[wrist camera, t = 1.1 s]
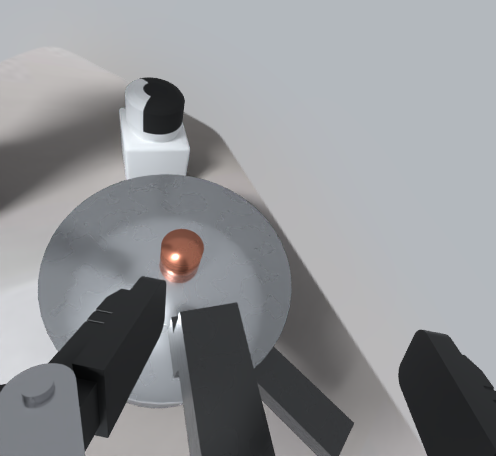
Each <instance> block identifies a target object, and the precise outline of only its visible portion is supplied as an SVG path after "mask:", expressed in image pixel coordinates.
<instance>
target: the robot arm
mask: <svg viewBox="0 0 496 456" xmlns="http://www.w3.org/2000/svg"><path fill="white" fill-rule="evenodd" d="M165 305H166V281H165V280H161V279H156V278H151V277H145V276H141V277H140V278H139V279H138V281H137V282H136V283H135V284H134V286H133V287H132V288H131V289H130V290H127V289H122V288H121V289H120V290H118V291H116V292H114V293H113V294H111V295H109V296H107V297H106V298H105V299H104V300H103V302H102V303H101V304H100V305H99V306H98V307H97V308H96V311H94V312H93V313H92V314H91V315H90V316H89V318H88V319H87V321H85V322H84V323H83V324H82V325H81V327H80V328H79V329H78V330H77V331H76V332H75V333H74V335H73V336H72V337H71V338H70V339H69V340H68V341H67V343H66V344H65V345H64V346H63V347H62V348H61V349H60V351H59V352H58V353H57V354H56V355H55V356H54V357H53V359H52V360H51V361H50V362H49V363H48V364H42V365H38V366H35V367H32V368H29V369H27V370H25V371H23V372H21V373H20V374H18V375H17V376H15V377H14V378H13V379H11V380H10V381H9V382H8V383H7V384H3V385H0V456H85V451H86V449H87V447H88V445H89V444H90V442H91V440H92V438H93V437H94V435H96V436H101V437H106V438H108V437H109V435H110V433H111V431H112V429H113V427H114V425H115V423H116V422H117V420H118V418H119V416H120V414H121V412H122V410H123V408H124V406H125V404H126V402H127V400H128V398H129V396H130V394H131V392H132V390H133V388H134V386H135V385H136V383H137V381H138V379H139V377H140V375H141V373H142V371H143V369H144V367H145V365H146V363H147V361H148V359H149V357H150V355H151V353H152V351H153V349H154V348H155V346H156V344H157V342H158V340H159V338H160V335H161V333H162V330H163V326H164V321H165ZM398 375H399V376H398V377H399V384H400V387H401V390H402V392H403V395H404V397H405V400H406V402H407V405H408V407H409V410H410V413H411V415H412V418H413V420H414V423H415V425H416V428H417V430H418V433H419V436H420V438H421V441H422V443H423V446H424V448H425V451H426V453H427V456H496V391H494V387H493V386H492V385H491V383H490V382H489V380H488V379H487V377H486V376H485V375H484V373H483V372H482V371H481V370H480V369H479V368H478V367H477V366H476V365H475V364H474V363H473V362H472V361H470V360H469V359H468V358H467V357H466V356H465V355H462V354H461V353H460V351H459V350H458V348H457V347H456V345H455V344H454V342H453V341H452V339H451V338H450V337H449V336H448V335H446V334H441V333H436V332H430V331H426V330H418V331H417V332H416V333H415V335H414V337H413V339H412V341H411V343H410V345H409V347H408V349H407V351H406V353H405V356H404V358H403V360H402V362H401V364H400V367H399V374H398Z"/></svg>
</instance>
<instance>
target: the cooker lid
mask: <svg viewBox="0 0 496 456" xmlns="http://www.w3.org/2000/svg"><path fill="white" fill-rule="evenodd" d="M141 276H145V277H151V278H156V279H161V280H165V281H166V305H165V321H164V326H163V330H162V333H161V335H160V338H159V340H158V342H157V344H156V346H155V348H154V349H153V351H152V353H151V355H150V357H149V359H148V361H147V363H146V365H145V367H144V369H143V371H142V373H141V375H140V377H139V379H138V381H137V383H136V385H135V386H134V388H133V390H132V392H131V394H130V396H129V398H128V400H131V401H135V402H139V403H147V404H158V405H163V404H180V403H183V407H184V415H185V422H186V429H187V437H188V444H189V451H190V456H275V453H274V449H273V444H272V440H271V436H270V432H269V428H268V424H267V420H266V416H265V412H264V408H263V404H262V400H261V396H260V392H259V388H258V384H257V380H256V376H255V371H254V368H255V367H256V366H257V365H258V364H259V363H260V362H261V361H262V360H263V359H264V358H265V357H266V355H267V354H268V353H269V352H270V350H271V349H272V348H273V346H274V345H275V343H276V341H277V339H278V338H279V336H280V334H281V332H282V330H283V327H284V325H285V322H286V320H287V316H288V312H289V308H290V301H291V292H292V290H291V273H290V267H289V263H288V259H287V256H286V252H285V250H284V248H283V245H282V243H281V241H280V239H279V237H278V235H277V234H276V232H275V230H274V229H273V227H272V226H271V225H270V223H269V222H268V221H267V219H266V218H265V217H264V216H263V215H262V214H261V213H260V212H259V211H258V210H257V209H256V208H255V207H254V206H253V205H251V204H250V203H249V202H248V201H246V200H245V199H244V198H242V197H241V196H239V195H238V194H236V193H234V192H233V191H231V190H229V189H227V188H225V187H223V186H220V185H218V184H216V183H213V182H210V181H207V180H204V179H200V178H195V177H191V176H184V175H172V174H159V175H148V176H141V177H136V178H132V179H128V180H124V181H121V182H119V183H116V184H113V185H111V186H109V187H107V188H105V189H103V190H101V191H99V192H97V193H95V194H94V195H92V196H91V197H89V198H88V199H86V200H85V201H83V202H82V203H81V204H80V205H79V206H77V207H76V208H75V209H74V210H73V211H72V212H71V213H70V214H69V215H68V216H67V217H66V218H65V219H64V220H63V222H62V223H61V224H60V226H59V227H58V229H57V230H56V231H55V233H54V234H53V236H52V238H51V240H50V242H49V244H48V246H47V248H46V250H45V253H44V256H43V260H42V263H41V266H40V273H39V279H38V300H39V306H40V312H41V317H42V319H43V322H44V325H45V328H46V331H47V333H48V335H49V337H50V338H51V340H52V342H53V344H54V345H55V347H56V349H57V350H58V351H60V349H61V348H62V347H63V346H64V345H65V344H66V343H67V341H68V340H69V339H70V338H71V337H72V336H73V335H74V333H75V332H76V331H77V330H78V329H79V328H80V327H81V325H82V324H83V323H84V322H85V321H87V319H88V318H89V316H90V315H91V314H92V313H93V312H94V311H96V308H97V307H98V306H99V305H100V304H101V303H102V302H103V300H104V299H105V298H106V297H107V296H109V295H111V294H113V293H114V292H116V291H118V290H120V289H121V288H122V289H127V290H130V289H131V288H132V287H133V286H134V284H135V283H136V282H137V281H138V279H139V278H140V277H141Z"/></svg>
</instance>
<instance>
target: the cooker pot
mask: <svg viewBox="0 0 496 456" xmlns="http://www.w3.org/2000/svg"><path fill="white" fill-rule="evenodd" d="M254 371H255V376H256V380H257V384H258V388H259V392H260V396H261V400H262V401H263V402H264V403H265V404H266V405H267V406H268V407H269V408H270V409H271V410H272V411H273V412H274V413H275V414H276V415H277V416H278V417H279V418H280V419H281V420H282V421H283V422H284V423H285V424H286V425H287V426H288V427H289V428H290V429H291V430H292V431H293V432H294V433H295V434H296V435H297V436H298V437H299V438H300V439H301V440H302V441H303V442H304V443H305V444H306V445H307V446H308V447H309V448H310V449H311V450H312V451H313V452H314V453H315V454H316V455H317V456H339V454H340V452H341V450H342V448H343V446H344V444H345V442H346V440H347V437H348V435H349V433H350V431H351V429H352V427H353V425H354V423H353V422H352V421H351V420H350V419H349V418H348V417H347V416H346V415H345V414H344V413H343V412H342V411H341V410H340V409H339V408H338V407H337V406H336V405H334V404H333V403H332V402H331V401H330V400H329V399H328V398H327V397H326V396H325V395H324V394H323V393H322V392H321V391H320V390H319V389H318V388H317V387H316V386H315V385H313V384H312V383H311V382H310V381H309V380H308V379H307V378H306V377H305V376H304V375H303V374H302V373H301V372H300V371H299V370H298V369H297V368H296V367H295V366H293V365H292V364H291V363H290V362H289V361H288V360H287V359H286V358H285V357H284V356H283V355H282V354H281V353H280V352H279V351H278V350H277V349H276V348H275V347H273V348H272V349H271V350H270V352H269V353H268V354H267V355H266V357H265V358H264V359H263V360H262V361H261V362H260V363H259V364H258V365H257V366H256V367H255V368H254ZM126 403H129V404H133V405H136V406H140V407H147V408H168V407H175V406H179V405H182V404H183V403H180V404H163V405H158V404H147V403H139V402H135V401H131V400H127V402H126Z"/></svg>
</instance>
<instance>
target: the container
mask: <svg viewBox="0 0 496 456" xmlns="http://www.w3.org/2000/svg"><path fill="white" fill-rule="evenodd" d="M125 103H126V108H120V109H119V117H120V130H121V143H122V154H123V161H124V168H125V175H126V180H128V179H132V178H136V177H141V176H148V175H159V174H172V175H184V176H186V173H187V167H188V161H189V155H190V146H189V143H188V139H187V136H186V132H185V129H184V125H183V122H182V120H183V111H184V103H185V100H184V96H183V94H182V93H181V92H180V90H179V89H178V88H177V87H176V86H174V85H173V84H171V83H169V82H167V81H165V80H162V79H158V78H140V79H137V80H135V81H133V82H131V83H130V84H129V85H128V86H127V88H126V90H125Z"/></svg>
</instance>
